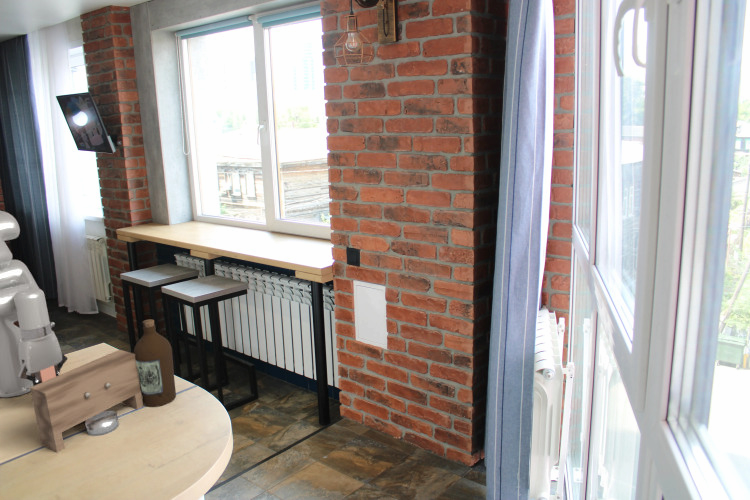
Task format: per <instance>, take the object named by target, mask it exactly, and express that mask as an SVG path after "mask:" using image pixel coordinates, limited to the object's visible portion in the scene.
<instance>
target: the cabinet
mask: <svg viewBox="0 0 750 500" xmlns="http://www.w3.org/2000/svg"><path fill="white" fill-rule="evenodd" d="M133 353H134V352H130V351H127V350H126V351H125V350H122V349H118V350H115V351H113V352H111V353H108V354H106V355H103V356H101V357H98V358H97V359H94V360H91V361H90V362H87V363H84V364H83V365H80V366H77V367H75V368H73V369H70V370H69V371H66V372H64V373H61V374H59V376H56V377H54V378H51V379H49V380H47V381H44V382H42V383H40V384H37V385H35V386H33V387H30V390H31V391H30V394H31V400H32V403H33V409H34V415H35V420H36V424H37V428H38V433H39V438H40V443H41V446H43V447H45V448H47V449H50V450H52V451H53V452H55V453H58V452H60V451H62V450H65V441H64V439H63V433H64V432H65V431H68V430H69V429H72V428H73V427H74V426H78V425H79V424H81V423H83V422H85V421H86V420H87V419H89V418H91V417H93V416H95V415H97V414H99V413H101V412H103V411H108V409H110V408H112V407H114V406H116V405H118V404H120V403H121V404H122V405H123V406H127V407H130V408H133V409H136V410H138V409H141V408H142V407H143V406H144V403H143V400H142V394H141V389H140V383H139V376H138V370H137V364H136V359H135V354H133Z"/></svg>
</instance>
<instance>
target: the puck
mask: <svg viewBox="0 0 750 500" xmlns="http://www.w3.org/2000/svg"><path fill="white" fill-rule="evenodd" d="M118 417H119V416H118V413H117V412H116V411H114V410H105V411H103V412H101V413H99V414H97V415H95V416H93V417H91V418H89V419H87V420H85V421H84V424H85V425H84V426H85V429H86V433H87V435H89V436H92V437H99V436H104V435H108V434H110V433H112V432H114V431H115V430H117V428H119V426H120V422H119V418H118Z"/></svg>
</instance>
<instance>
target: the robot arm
mask: <svg viewBox="0 0 750 500" xmlns="http://www.w3.org/2000/svg"><path fill="white" fill-rule="evenodd" d="M20 232H21V229H20V225H19V223H18V221H17V219H16V217H14V215H12V214H10V213H9V212H7V211H2V210H0V398H12V397H18V396H21V395H24V394H27V393H31V390H30V387H33V386H35V385H37V384H40V383H42V382H41V381H40V379H39V378H40V372H39V371H41V370H43V369H46V368H48V367H51V366H53V365H54V368H55V373H56V376H59V375H60V373H61V369H62V368H63V365H64V364H65V363H66V362H67V361H68V357H67V356H66V355H65V354H64V353H62V350H61V346H60V343H59V340H58V337H57V336H56V334H55V331H54V330H53V329H52V328H53V327H55V325H56V323H55V322H53V321H50V316H49V312H48V311H49V310H48V307H47V301H46V297H45V296H46V295H45V293H44V291H43V290H42V289H41V288H40V287H39V286H38V284H37V282H36V280H35V278H34V277H33V275H32V273H31V272H30V270H29V267H28V266H27V265H26V264H25V263H24V262H22V261H21V260H19V259H13V253H12V252H11V250H10V248H9V247H8V245H7V243H6V242H5V241H10V240H11V241H12V240H14V239H17V238H18V237H19V235H20ZM15 322H18V326H17V325H15V324H14V323H15Z"/></svg>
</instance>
